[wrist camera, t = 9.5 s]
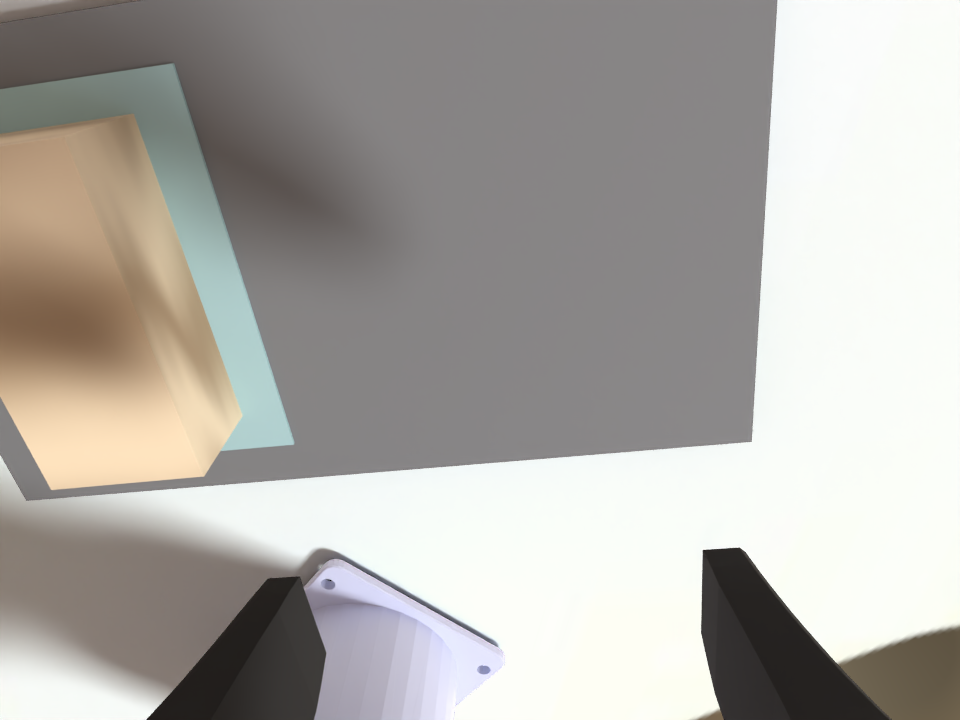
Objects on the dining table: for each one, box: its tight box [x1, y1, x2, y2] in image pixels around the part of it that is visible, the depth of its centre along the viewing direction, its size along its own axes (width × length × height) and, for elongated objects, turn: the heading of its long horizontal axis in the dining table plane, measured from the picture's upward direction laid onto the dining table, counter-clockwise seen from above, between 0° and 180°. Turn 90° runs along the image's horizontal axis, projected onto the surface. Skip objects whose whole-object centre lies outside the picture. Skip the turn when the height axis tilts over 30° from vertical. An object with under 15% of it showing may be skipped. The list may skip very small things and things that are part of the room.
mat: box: [0, 0, 777, 501], centre depth 19 cm, size 24×14×1 cm, turn 98°
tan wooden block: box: [0, 114, 242, 490], centre depth 18 cm, size 9×4×3 cm, turn 8°
